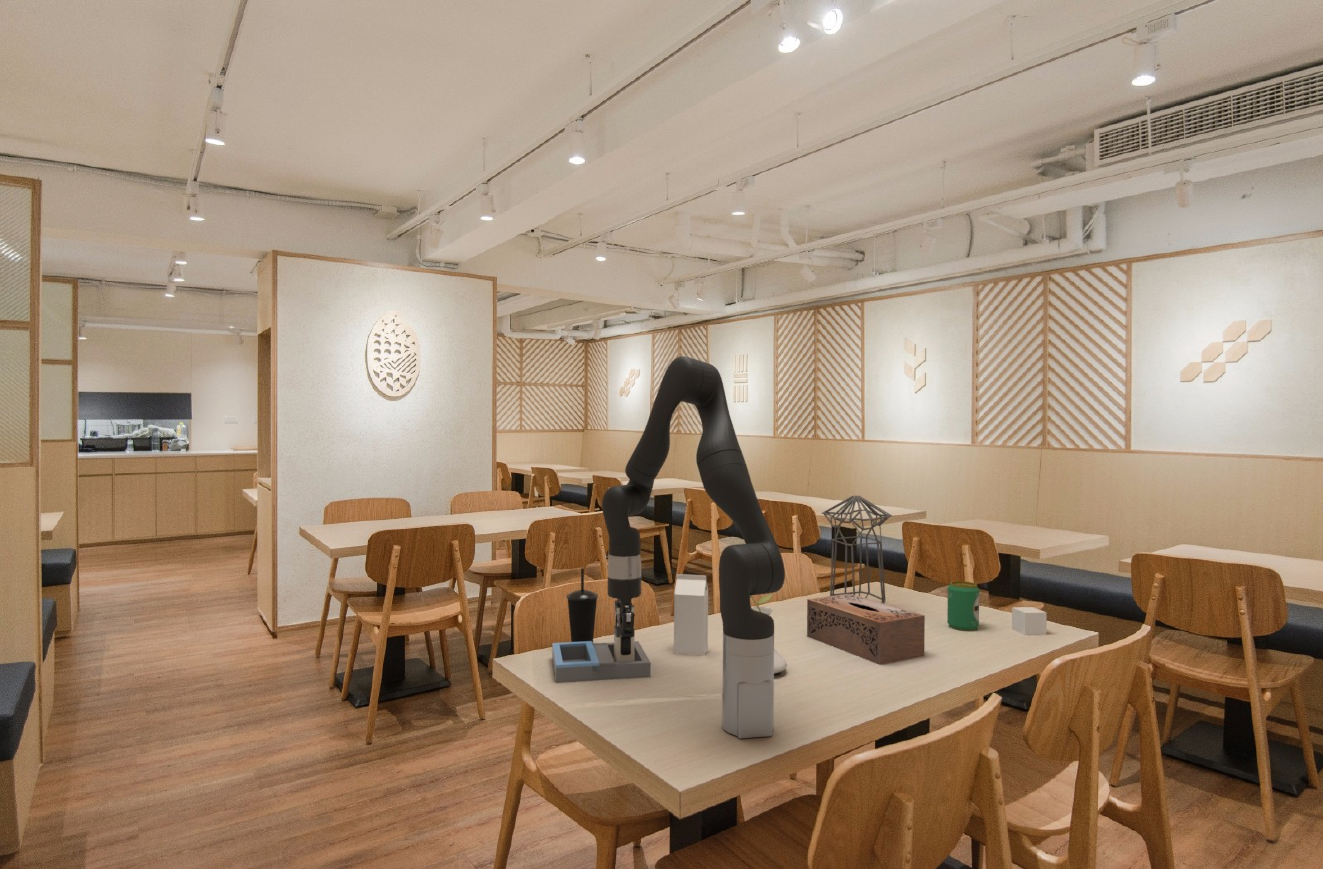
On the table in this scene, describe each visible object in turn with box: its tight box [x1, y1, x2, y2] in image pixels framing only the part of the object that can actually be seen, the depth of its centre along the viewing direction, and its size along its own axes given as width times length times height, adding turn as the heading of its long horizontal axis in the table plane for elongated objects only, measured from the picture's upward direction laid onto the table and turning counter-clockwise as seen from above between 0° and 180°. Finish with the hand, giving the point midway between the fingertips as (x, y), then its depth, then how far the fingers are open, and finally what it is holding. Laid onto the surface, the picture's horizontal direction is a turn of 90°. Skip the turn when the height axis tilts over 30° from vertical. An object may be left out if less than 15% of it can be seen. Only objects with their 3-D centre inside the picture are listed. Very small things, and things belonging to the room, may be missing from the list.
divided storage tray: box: [551, 640, 652, 684], centre depth 162 cm, size 16×20×5 cm
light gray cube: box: [1011, 606, 1048, 636], centre depth 197 cm, size 6×6×6 cm
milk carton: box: [673, 573, 709, 656], centre depth 176 cm, size 7×7×19 cm
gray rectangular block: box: [613, 625, 636, 662], centre depth 163 cm, size 4×4×8 cm
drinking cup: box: [566, 568, 599, 644], centre depth 177 cm, size 8×8×20 cm
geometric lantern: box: [821, 495, 893, 604], centre depth 214 cm, size 16×16×35 cm
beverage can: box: [946, 580, 980, 632], centre depth 201 cm, size 8×8×12 cm
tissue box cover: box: [806, 594, 926, 666], centre depth 183 cm, size 26×14×10 cm, turn 28°
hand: (624, 651), depth 163 cm, fingers closed on gray rectangular block, 4 cm apart
